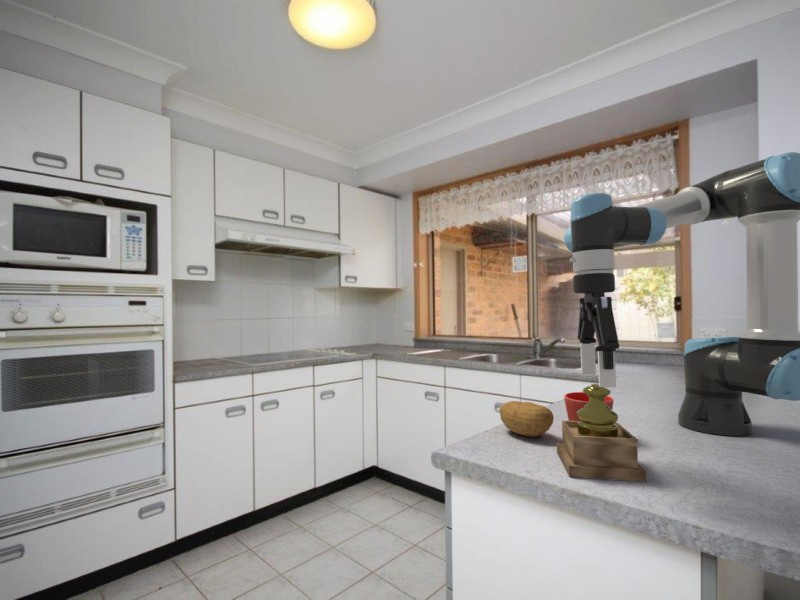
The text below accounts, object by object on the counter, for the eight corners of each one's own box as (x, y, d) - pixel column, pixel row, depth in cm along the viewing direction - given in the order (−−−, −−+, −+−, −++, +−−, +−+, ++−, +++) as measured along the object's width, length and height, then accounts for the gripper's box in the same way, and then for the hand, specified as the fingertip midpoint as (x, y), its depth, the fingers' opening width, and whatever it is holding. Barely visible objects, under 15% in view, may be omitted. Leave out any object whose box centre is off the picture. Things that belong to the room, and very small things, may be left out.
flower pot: (621, 445, 93) (620, 402, 93) (569, 442, 95) (568, 400, 95) (607, 431, 103) (606, 392, 103) (561, 429, 105) (560, 391, 106)
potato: (514, 425, 110) (514, 395, 110) (562, 438, 98) (561, 404, 99) (489, 431, 104) (489, 400, 104) (537, 446, 93) (536, 411, 93)
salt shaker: (626, 436, 80) (625, 385, 80) (604, 443, 76) (603, 389, 76) (591, 427, 86) (590, 379, 87) (569, 433, 82) (568, 383, 83)
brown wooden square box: (622, 455, 86) (621, 421, 86) (646, 481, 74) (645, 441, 74) (556, 452, 89) (556, 418, 89) (569, 476, 76) (568, 437, 76)
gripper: (561, 277, 95) (564, 369, 95) (589, 269, 70) (593, 393, 70) (596, 276, 93) (599, 369, 93) (636, 267, 69) (641, 393, 69)
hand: (597, 380), depth 82 cm, fingers open, 13 cm apart
